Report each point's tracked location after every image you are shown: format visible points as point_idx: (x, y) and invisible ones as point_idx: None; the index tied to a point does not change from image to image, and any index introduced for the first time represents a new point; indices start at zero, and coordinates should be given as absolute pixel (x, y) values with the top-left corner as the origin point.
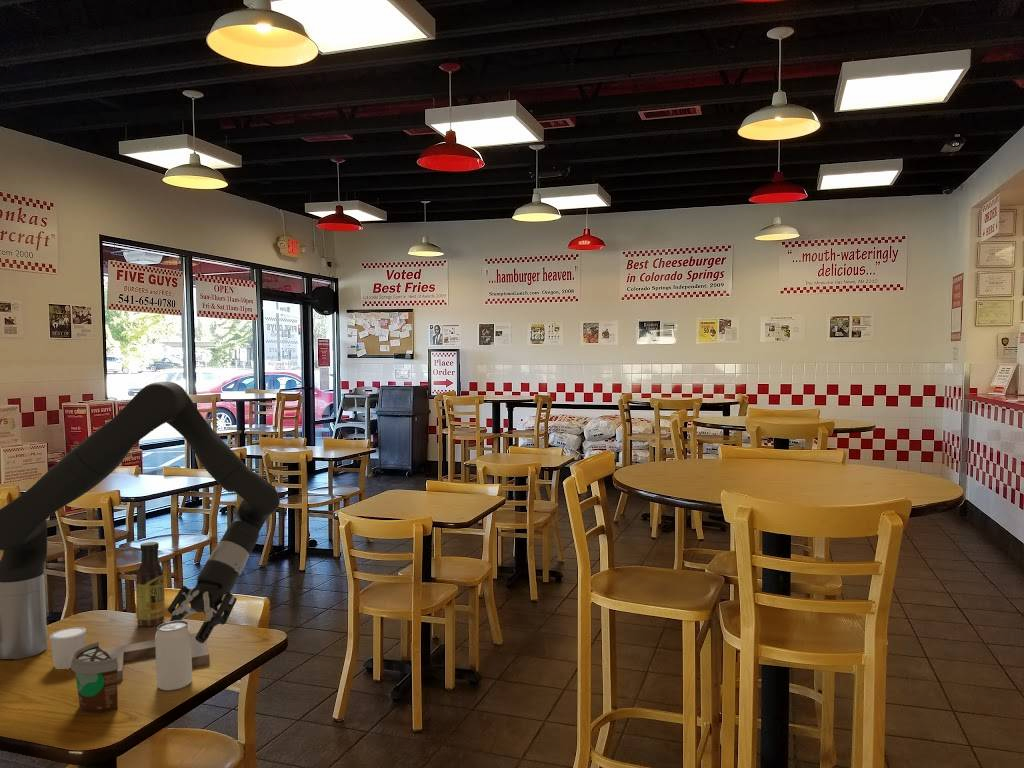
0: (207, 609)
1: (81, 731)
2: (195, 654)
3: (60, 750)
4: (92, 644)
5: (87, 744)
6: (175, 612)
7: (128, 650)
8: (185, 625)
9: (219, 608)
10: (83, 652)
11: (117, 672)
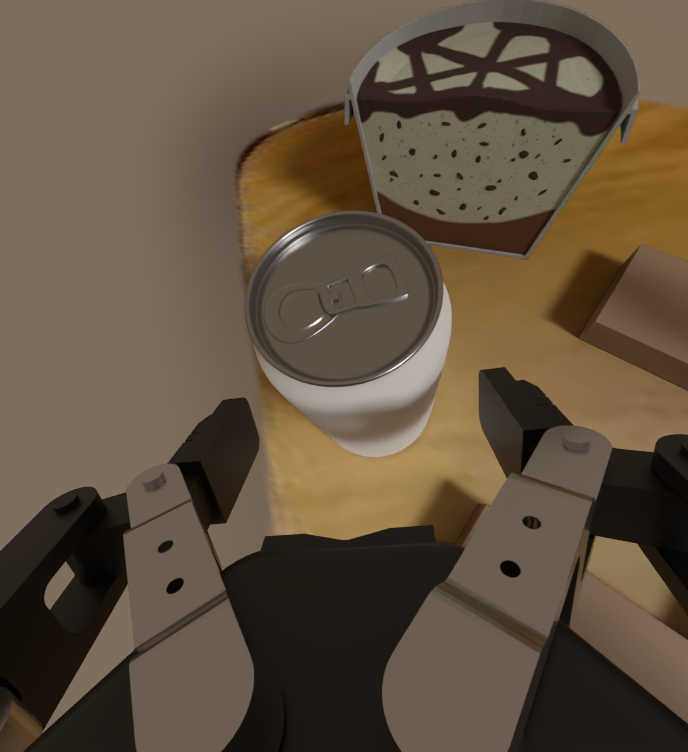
0: (157, 517)
1: (351, 154)
2: None
3: (315, 111)
4: (633, 74)
5: (287, 143)
6: (564, 441)
7: None
8: (285, 356)
9: (21, 571)
10: (594, 59)
11: (600, 311)
